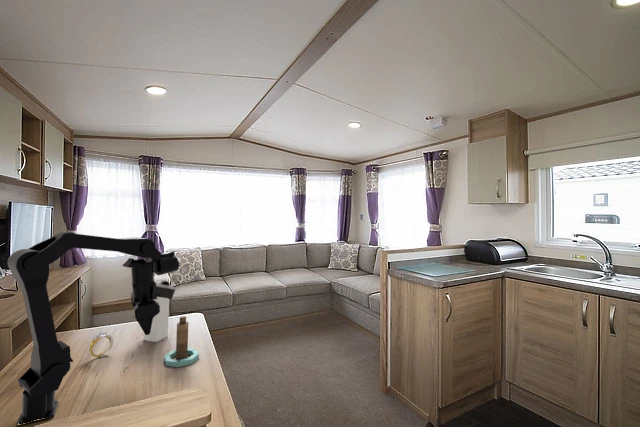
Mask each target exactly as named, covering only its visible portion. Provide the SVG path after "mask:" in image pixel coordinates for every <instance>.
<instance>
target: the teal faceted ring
mask: <svg viewBox="0 0 640 427" xmlns="http://www.w3.org/2000/svg"><path fill="white" fill-rule="evenodd" d="M187 356H189V357H187V358H186V359H181V360H176V349H173V350H171V351H169V352H167V353H166V354H164V358H163V361H164V364H165V366H167V367H172V368H173V367H175V368H179V367H184V366H190V365H192V364H193V363H194V362H196V361H197V360H198V359H200V353H199V352H198V350H197V348H191V347H188V351H187ZM173 358H174V359H173Z"/></svg>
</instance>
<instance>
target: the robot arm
mask: <svg viewBox="0 0 640 427" xmlns="http://www.w3.org/2000/svg"><path fill="white" fill-rule="evenodd" d="M71 249H83V250H94V251H95V250H97V251H106V252H107V251H108V252H117V253H121V254H125V255H128V256H133V257H138V259H134V258H131V257H129V258H128V259H127V260H126V261H125V262H124V263H123V264H122V267H124V268H128V269H129V268H130V271H131V288H132V292H131V293H130V301H131V305H132V307H133V315H134V318H135V320H136V322H137V323H138V325H139V327H140V328H141V329H142V331H143V334H144V333H145V335H149V334H150V331H151V326H152V321H153V318H154V317H155V316H156V315H157V314H158V313H159V312H160V306H159V303H158V302H156V301H155V299H157V297H162V298H168V299H169V300H172V299H173V297H174V294H175V291H176V288H175V287H174V285H171V284H170V282H169V281H168V280H162V281H160V282H161V283H160V284H156V282H155V281H156V280H155V278H154V277H155V276H154V274H156V275H157V276H161V275H162V276H163V275H166V274H169V273H174V272H177V271H178V270H179V268H180V262H179V260H178V257H177V256H176V255H175V253H176V252H175V251H170V250H169V251H166V252H162V253H161V252H160V251H159V249H157V247H156V244H155V242H154V240H153V239H151V238H145V237H137V236H136V237H135V236H134V237H121V238H119V237H118V238H115V237H114V238H113V237H108V236H98V235H90V234H81V233H75V232H72V231H60V232H58V233H56V234H55V235H53V236H50V237H49V238H47V239H45V240H42V241H41V242H38V243H36V244H34V245H32V246H31V247H29V248H23V249H22V248H21V249H19V250H16V251H14V252H13V253H11V254H10V256H9V257H8V259H7V267H8V269H9V271H10V273H11V275H12V276H13V279H14V280H15V283H17V285H18V286H19V288H20V290H21V293H22V297H23V301H24V302H23V303H24V306H25V312H26V316H27V320H28V324H29V328H30V333H31V338H32V343H33V344H32V345H33V348H32V351H31V355H30V367H29V368H28V369H27V370H26V371H25V372H24V373H23V374H22V375H21V376H19V377H18V379H17V382H18V384H19V387H20V388H22V389H23V391H22V402H21V414H20V416H19V417H18V419H17V421H16V424H18V423H19V424H23V423H28V422H31V421H34V420H37V419H42V418H48V419H50V418H49V417H52V418H53V416H54V417H55V414H56V411H57V408H58V407H59V406H58V405H59V401H58V400H56V391H58V390H59V388H60V386H61V384H62V381H63V379H64V377H66V375H67V374H68V372H69V371H70V370H71V363H73V362H74V360H73V359H72V357H71V346H70V345H68V344H67V343H66V342H63V341H62V340H59V341H58V337H57V331H56V326H55V322H54V318H53V312H52V308H51V307H52V306H51V303H50V297H49V293H48V286H47V284H48V282H49V277H50V265H51V264H52V263H54V262H56V261H58V260H59V259H60V258H61V257H63V255H65V254H66V253H67V252H68V251H70V250H71ZM55 400H56V401H55ZM28 424H29V423H28Z"/></svg>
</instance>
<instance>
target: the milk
mask: <svg viewBox="0 0 640 427" xmlns="http://www.w3.org/2000/svg"><path fill="white" fill-rule="evenodd" d="M154 281H155V282H156V284H160V283H161V282H162V281H158V280H157V281H156V280H154ZM155 301H156V302H158V303H159V306H160V312H159V313H158V314H157V315H156V316H155V317H154V318H153V321H152V326H151V331H150V334H149V335H145V333H144V332H143V341H147V342H151V343H152V342H153V343H157V342H160V341H162V340H163V339H166V338H168V337H169V317H170V316H169V315H170V299H168V298H162V297H157V299H155Z"/></svg>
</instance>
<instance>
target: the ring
mask: <svg viewBox="0 0 640 427" xmlns="http://www.w3.org/2000/svg"><path fill="white" fill-rule="evenodd" d="M103 338H106V339H108V340H109V346H108V348H107V349H106V350H105V351H104V352H100V353H99V354H97V353H96V354H95V353H94V352H93V349H94V347H95V345H96V344H97V343H98V342H99V341H100V340H101V339H103ZM113 346H114V338H113V336H112V335H111V334H107V331H105V332H102V331H101V332H99V333H98V334H96V335H95V336H93V338H92V339H91V340H90V342H89V345H88V352H89V354H90V356H92V357H94V358H103V357H104V356H106V355H107V354H108V353H109V352H111V350H112V348H113Z"/></svg>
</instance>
